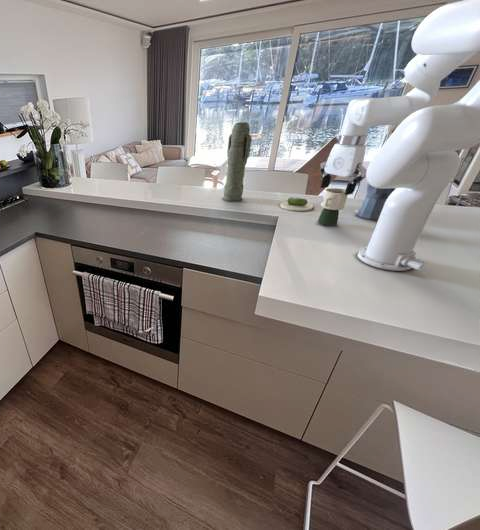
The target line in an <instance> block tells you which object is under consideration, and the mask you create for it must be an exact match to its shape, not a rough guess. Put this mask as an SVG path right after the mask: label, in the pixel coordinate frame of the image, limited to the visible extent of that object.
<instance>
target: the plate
mask: <svg viewBox="0 0 480 530" xmlns="http://www.w3.org/2000/svg"><path fill="white" fill-rule="evenodd" d="M279 207H280V208H281V209H284V210H287V211H292V212H307V211H308V212H309V211H311V210H313V209H314V205H313V204H312V203H310V202H308V201H307V204H306V205H305V206H300V205H294V204H289V203H288V202H287V200H285V201H281V202H280V203H279Z"/></svg>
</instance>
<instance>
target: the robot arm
mask: <svg viewBox="0 0 480 530" xmlns="http://www.w3.org/2000/svg"><path fill="white" fill-rule="evenodd" d="M411 50H412V51H413V53H414V54H416V55H415V56H414V57H413V58H412V59H411V60H410V61H409V62H408V63H407V64H406V66H405V68H404V72H403V73H404V74H403V75H404V78H405V80H406V82H407V83H408V84H409V85H410V86H411V87H413V88H412V89H411V90H410V91H409V92H407V93H405V95H399V96H397V95H396V96H385V97H362V98H354V99H352V100H351V101H350V102H349V103H348V105H347V108H346V112H345V116H344V119H343V122H342V126H341V130H340V132H339V135H337V136H336V140H337V142H336V143H334V144H333V147H331V151H330V153H329V154H328V157H327V159H326V161H323V162H321V163H320V164H319V165H320V173H321V177H322V180H321V184H320V188H321V189H325V188H329V186H330V183H331V181H332V180H331V179H332V175H333V176H337V177H342V178H347V179H348V181H349V182H348V183H347V185H346V187H345V189H344V190H345V193H344V194H345V195H353V193H354V192H355V190H356V187H357V184H359V183H360V182H361V181H363V180H364V179H365V180H366V182H367V184H368V183H369V184H370V185H371V186H373V187H375V188H380V189H391V188H396V189H395V190H394V191H393V192H392V193H391V194H390V195H389V197H388V198H387V200H386V202H385V204H384V207H383V209H382V212H381V214H380V217H379V219H378V220H377V222H376V224H375V227H374V230H373V232H372V235H371V237H370V240H369V243H368V245H367V247H366V248H361V249H360V250H359V251H358V253H357V257H358V259H359V260H360V261H362V263H365V264H366V265H369V266H371V267H374V268H377V269H381V270H387V271H395V272H401V271H402V272H403V271H408V270H411V269H414V270H417V271H422V270H423V269H424V268H425V264H426V261H425V260H423V259H420V258H417V257H416V255H417V251H414V249H415V247H416V244H417V242H418V240H419V239H420V236H421V234H422V232H423V230H424V228H425V226H426V224H427V222H428V219H429V217H430V215H431V213H432V211H433V209H434V207H435V205H436V204H437V202H438V199H439V198H440V196H441V194H442V193H443V191H445V189H446V188H447V186H449V184H450V182H451V181H452V180H453V179H454V178H455V176H456V175H457V172H458V171H459V169H460V165H461V157H460V155H459V153H457V151H464V150H469V149H471V148H474V147H475V146H477V145H479V144H480V79H479V80H478V81H477V82H476V84H474V86H473V87H472V88H471V89H470V90H469V91H468V92H467V93H465V95H464V96H463V97H462V98H460V99H459V100H458V101H456V102H454V103H451V104H443V105H431V106H430V104H432V102H433V101H434V99H435V97H436V96H437V94H438V92H439V89H440V87H441V81H442V80H444V79H445V78H446V77H448V76H449V75H450V74H451V73H452V72H454V71H455V70H456V69H458V68H459V67H460V66H461V65H463V64H464V63H465V62H466V61H468V60H470V59H471V58H472V57H473V56H474V55H476V54H477V53H478V52H480V0H459V1H454V2H449V3H446V4H444V5H442V6H440V7H438V8H436V9H435V10H433V11H432V12H430V14H428V15H427V16H426V17H425V18H424V19H423V20H422V21H421V22H420V24H419V25H418V26H417V28H416V29H415V31H414V33H413V36H412V38H411ZM393 125H397V127H396V128H395V129H394V130H393V132H392V133H391V134H390V136H389V137H388V138H387V139H386V140H385V142H384V143H383V144H382V146H381V147H380V148H379V150H378V151H377V152H376V153H375V155H373V157H372V159H371V160H370V162H369V164H368V165H367V168H366V167H364V166H363V163H364V160H365V154H366V149H367V148H366V147H367V146H366V145H365V144H366V142H367V138H368V136H369V133H370V129H371V127H379V126H393ZM359 174H360V175H359Z"/></svg>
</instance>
